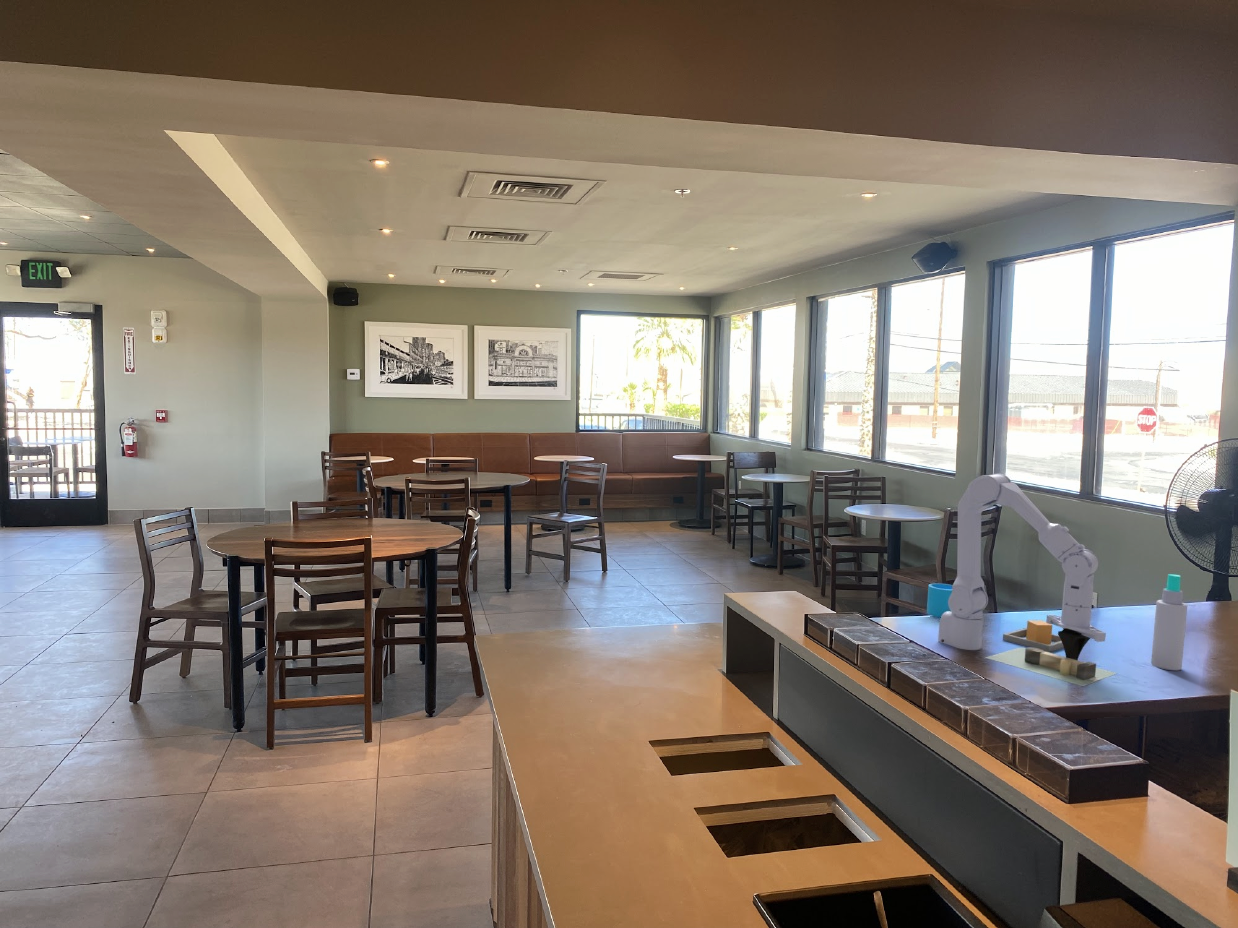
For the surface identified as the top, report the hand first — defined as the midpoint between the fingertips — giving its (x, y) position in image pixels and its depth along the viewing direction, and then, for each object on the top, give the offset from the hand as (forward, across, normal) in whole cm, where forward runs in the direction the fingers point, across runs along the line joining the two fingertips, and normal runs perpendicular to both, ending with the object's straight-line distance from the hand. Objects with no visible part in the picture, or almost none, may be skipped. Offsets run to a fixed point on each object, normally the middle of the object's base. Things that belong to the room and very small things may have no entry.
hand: (1071, 663), depth 185 cm
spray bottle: (+3, -1, +29) cm, 29 cm away
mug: (+4, -51, +7) cm, 51 cm away
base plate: (+3, -4, -3) cm, 5 cm away
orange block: (+2, -19, +9) cm, 21 cm away
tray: (+3, -19, +9) cm, 21 cm away
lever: (+1, -1, -3) cm, 3 cm away
